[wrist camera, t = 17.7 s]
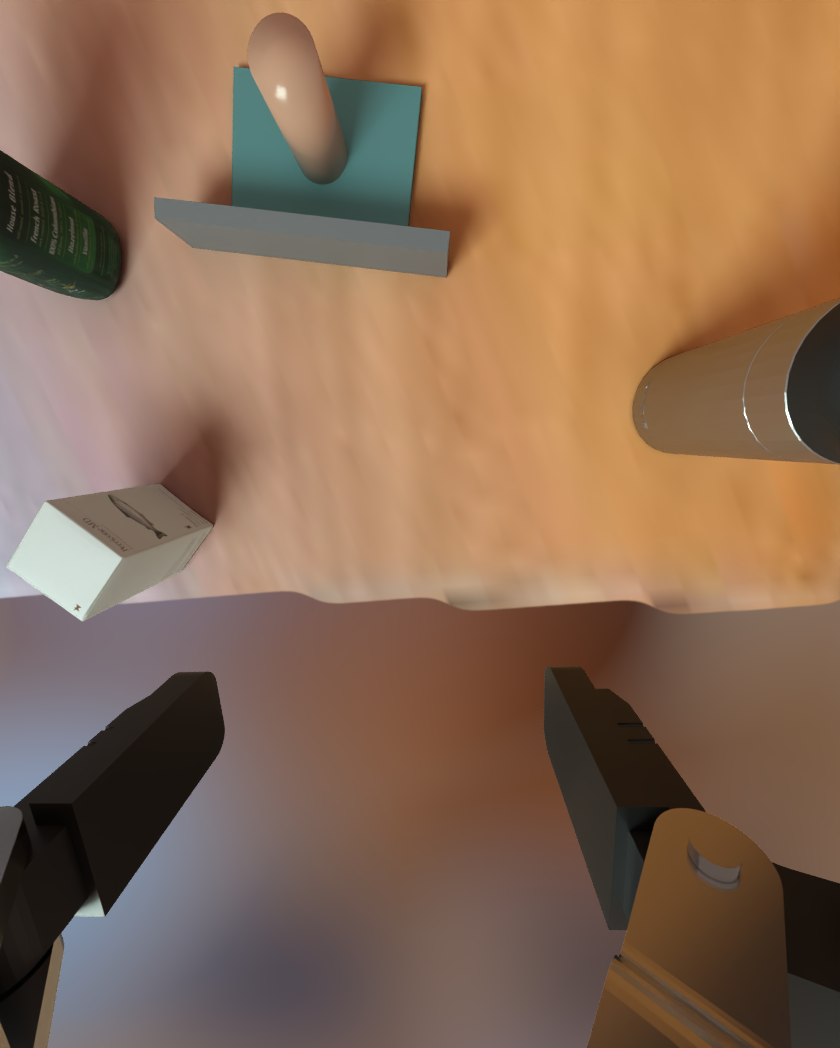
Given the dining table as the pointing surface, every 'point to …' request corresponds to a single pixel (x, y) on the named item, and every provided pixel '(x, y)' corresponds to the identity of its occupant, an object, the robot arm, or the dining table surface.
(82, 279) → the coffee jar
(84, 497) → the supplement box
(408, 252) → the low wall
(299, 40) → the tan domed capsule
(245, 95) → the teal mat
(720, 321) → the dining table surface
